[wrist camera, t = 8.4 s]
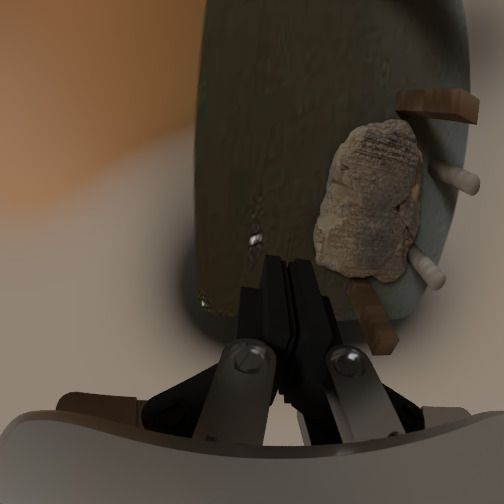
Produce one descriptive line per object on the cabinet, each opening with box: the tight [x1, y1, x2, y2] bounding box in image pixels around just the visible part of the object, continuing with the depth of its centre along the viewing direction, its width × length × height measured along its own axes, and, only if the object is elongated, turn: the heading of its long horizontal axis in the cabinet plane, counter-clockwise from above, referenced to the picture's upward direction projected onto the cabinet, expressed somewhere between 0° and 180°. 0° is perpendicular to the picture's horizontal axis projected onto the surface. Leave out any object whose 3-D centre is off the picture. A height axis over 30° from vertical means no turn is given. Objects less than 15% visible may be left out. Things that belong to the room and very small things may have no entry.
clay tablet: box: [313, 119, 422, 283], centre depth 29 cm, size 14×5×20 cm
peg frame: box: [347, 88, 480, 355], centre depth 25 cm, size 27×9×12 cm, turn 172°
